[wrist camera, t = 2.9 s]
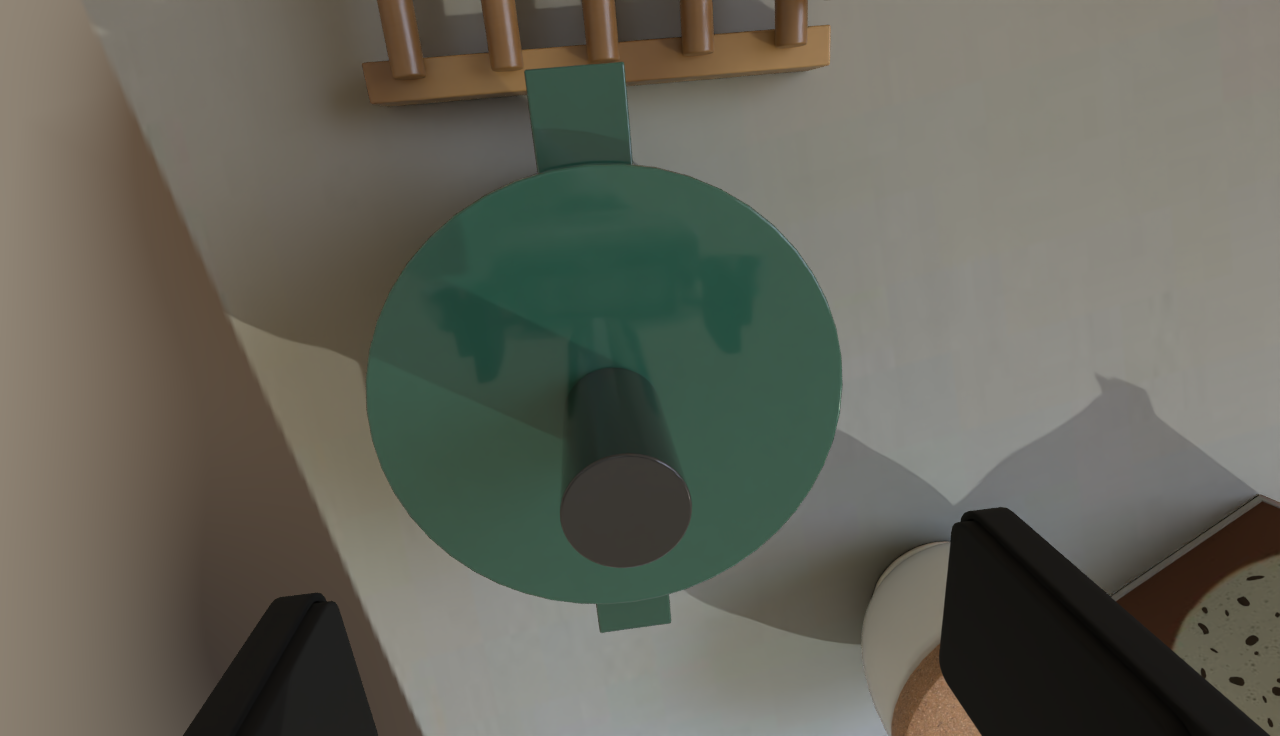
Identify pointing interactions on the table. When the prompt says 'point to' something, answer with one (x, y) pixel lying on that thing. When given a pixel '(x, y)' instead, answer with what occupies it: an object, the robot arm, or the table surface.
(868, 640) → the trinket box
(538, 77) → the pot
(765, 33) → the dish rack
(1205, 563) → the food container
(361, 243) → the table surface
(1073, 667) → the robot arm
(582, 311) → the lid
